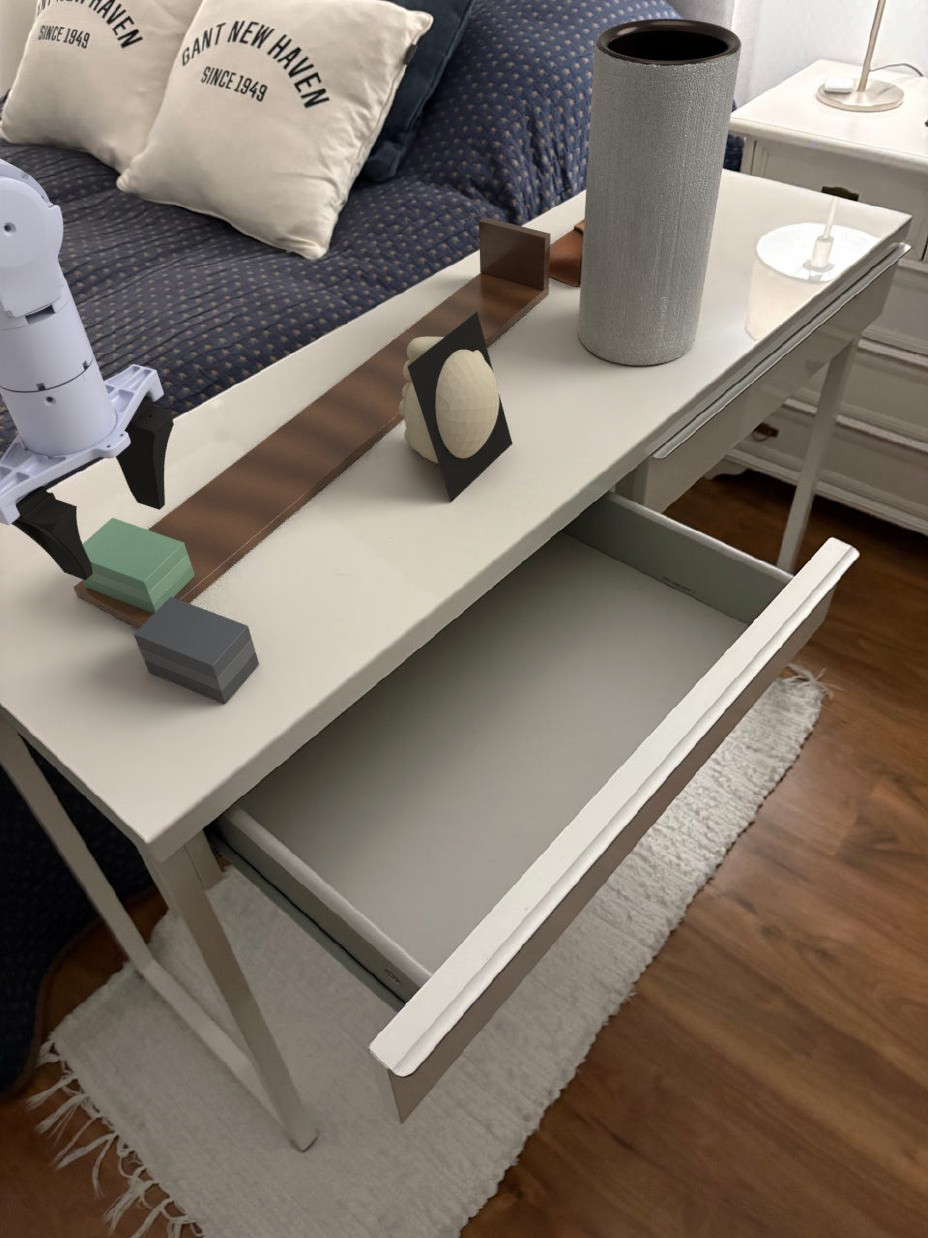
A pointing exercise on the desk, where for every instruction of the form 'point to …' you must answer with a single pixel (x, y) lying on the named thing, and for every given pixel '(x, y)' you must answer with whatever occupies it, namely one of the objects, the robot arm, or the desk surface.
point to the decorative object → (454, 404)
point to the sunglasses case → (568, 256)
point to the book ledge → (339, 422)
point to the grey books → (197, 649)
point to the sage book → (133, 554)
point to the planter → (653, 184)
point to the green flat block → (140, 598)
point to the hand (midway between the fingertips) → (116, 537)
